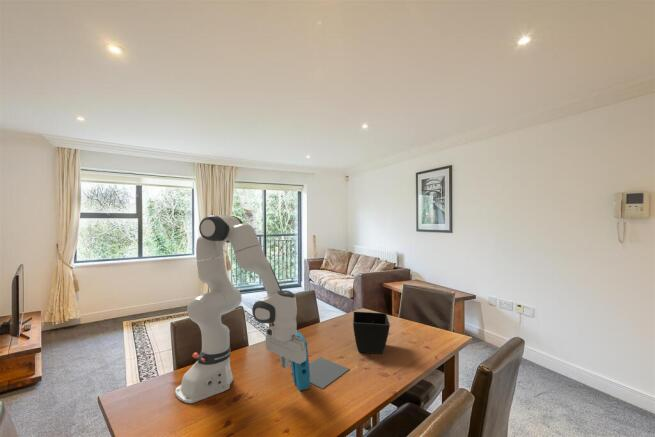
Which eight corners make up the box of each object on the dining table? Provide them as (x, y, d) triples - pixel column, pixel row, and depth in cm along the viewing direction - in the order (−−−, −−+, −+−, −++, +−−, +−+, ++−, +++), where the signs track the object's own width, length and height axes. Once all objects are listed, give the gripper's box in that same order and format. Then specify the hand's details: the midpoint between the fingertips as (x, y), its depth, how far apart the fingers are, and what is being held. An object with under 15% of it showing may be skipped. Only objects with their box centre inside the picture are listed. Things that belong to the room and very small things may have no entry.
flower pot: (386, 341, 165) (386, 312, 165) (390, 357, 146) (390, 324, 146) (353, 340, 167) (353, 311, 167) (352, 355, 148) (353, 322, 148)
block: (312, 389, 117) (307, 341, 116) (300, 393, 115) (295, 345, 114) (302, 374, 128) (298, 331, 127) (291, 378, 126) (287, 334, 125)
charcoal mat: (322, 389, 118) (322, 388, 118) (291, 374, 129) (291, 373, 129) (349, 369, 134) (349, 368, 134) (320, 357, 145) (320, 357, 145)
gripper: (310, 336, 110) (309, 372, 110) (274, 324, 123) (274, 356, 123) (298, 342, 105) (298, 379, 105) (263, 328, 118) (262, 362, 118)
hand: (285, 367), depth 114 cm, fingers closed
